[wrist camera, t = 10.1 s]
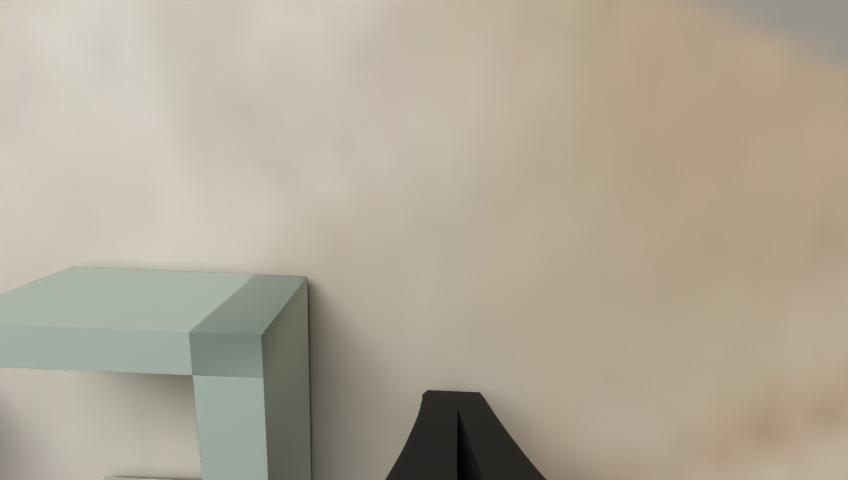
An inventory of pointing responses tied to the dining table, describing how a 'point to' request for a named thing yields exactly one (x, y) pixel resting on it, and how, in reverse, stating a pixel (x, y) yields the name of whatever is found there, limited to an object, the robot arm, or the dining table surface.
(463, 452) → the robot arm
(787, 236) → the dining table surface
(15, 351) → the sliding cap
